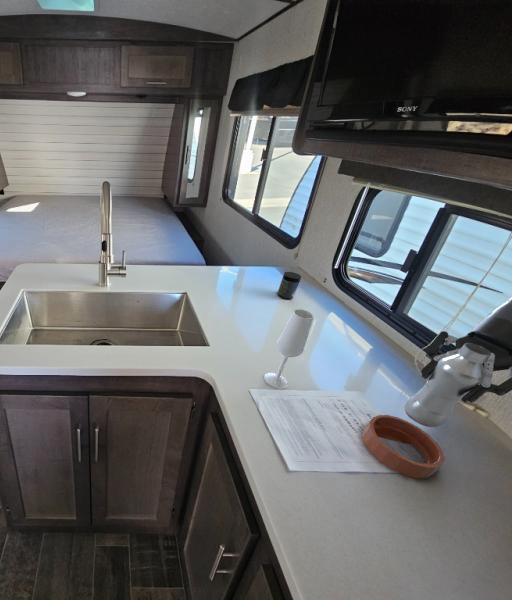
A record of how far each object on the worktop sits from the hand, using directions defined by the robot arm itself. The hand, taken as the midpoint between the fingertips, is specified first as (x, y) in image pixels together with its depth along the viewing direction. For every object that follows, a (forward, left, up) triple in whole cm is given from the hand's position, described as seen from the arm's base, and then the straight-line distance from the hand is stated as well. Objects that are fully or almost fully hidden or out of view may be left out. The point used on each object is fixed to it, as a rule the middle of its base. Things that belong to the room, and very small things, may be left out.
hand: (442, 388), depth 65 cm
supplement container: (+12, -76, -23) cm, 80 cm away
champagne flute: (+23, -18, -23) cm, 37 cm away
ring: (-1, -1, -22) cm, 22 cm away
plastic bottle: (-1, -1, -11) cm, 11 cm away
